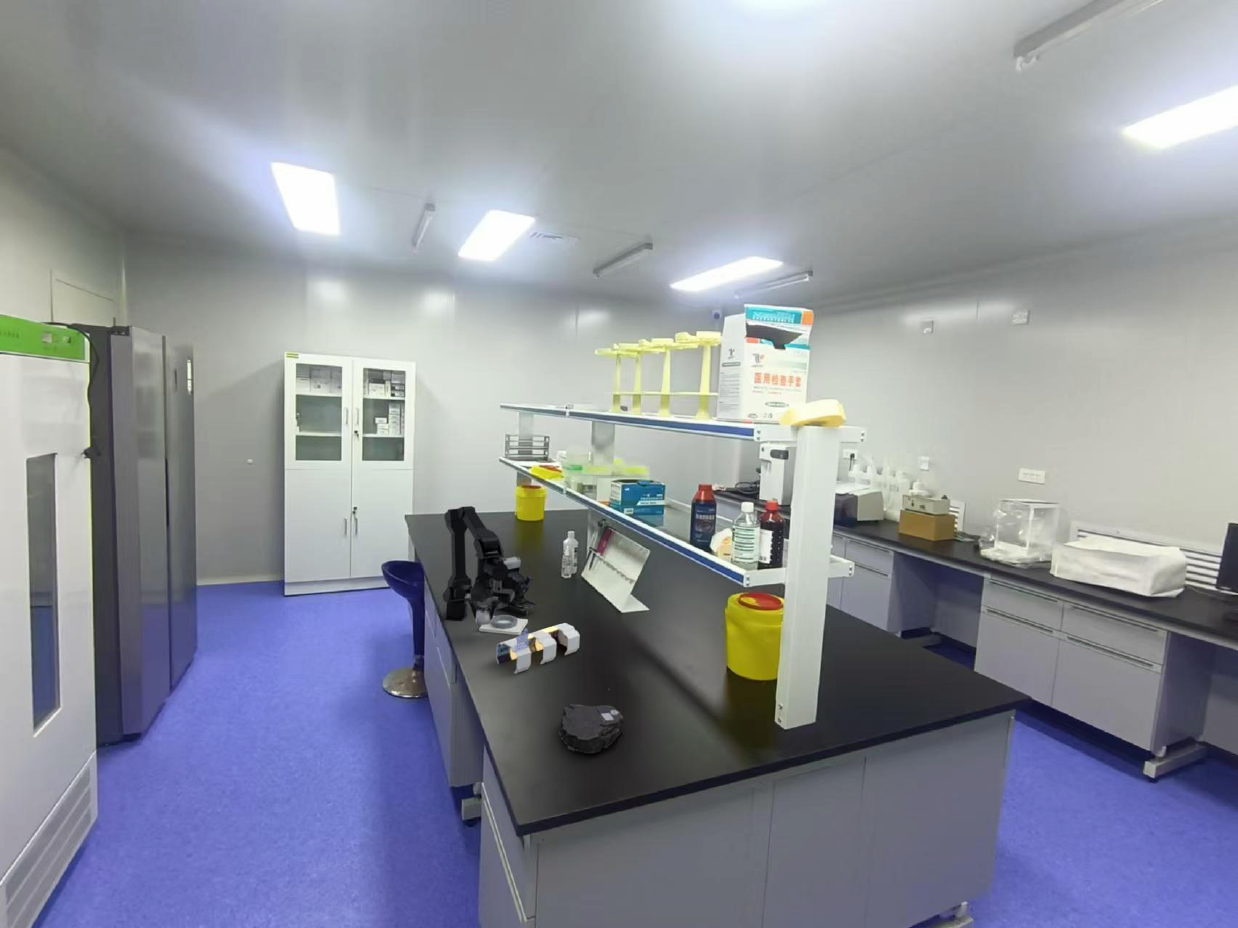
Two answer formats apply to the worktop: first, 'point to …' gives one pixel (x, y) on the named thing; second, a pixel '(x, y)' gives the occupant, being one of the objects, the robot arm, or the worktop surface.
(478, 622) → the metal cylinder
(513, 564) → the vintage camera
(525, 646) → the diorama
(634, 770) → the worktop surface
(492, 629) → the barrel plate
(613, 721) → the rock sample
